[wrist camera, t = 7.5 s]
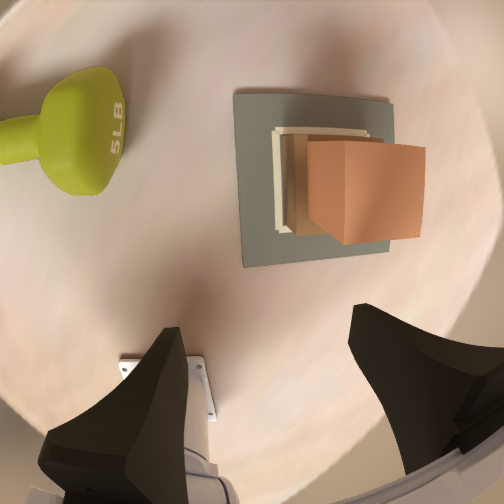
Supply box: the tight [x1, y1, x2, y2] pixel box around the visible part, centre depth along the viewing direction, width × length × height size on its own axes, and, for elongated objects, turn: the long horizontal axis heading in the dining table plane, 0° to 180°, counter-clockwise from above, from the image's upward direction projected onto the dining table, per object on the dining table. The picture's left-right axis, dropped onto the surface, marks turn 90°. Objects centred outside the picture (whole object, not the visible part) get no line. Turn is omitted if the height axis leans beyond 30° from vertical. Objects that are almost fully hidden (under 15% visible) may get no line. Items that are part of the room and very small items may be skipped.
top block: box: [307, 141, 425, 245], centre depth 14 cm, size 4×4×5 cm
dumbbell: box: [0, 66, 126, 196], centre depth 12 cm, size 16×8×7 cm, turn 84°
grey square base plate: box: [233, 93, 394, 268], centre depth 20 cm, size 12×12×1 cm
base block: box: [282, 134, 384, 236], centre depth 18 cm, size 6×6×3 cm
